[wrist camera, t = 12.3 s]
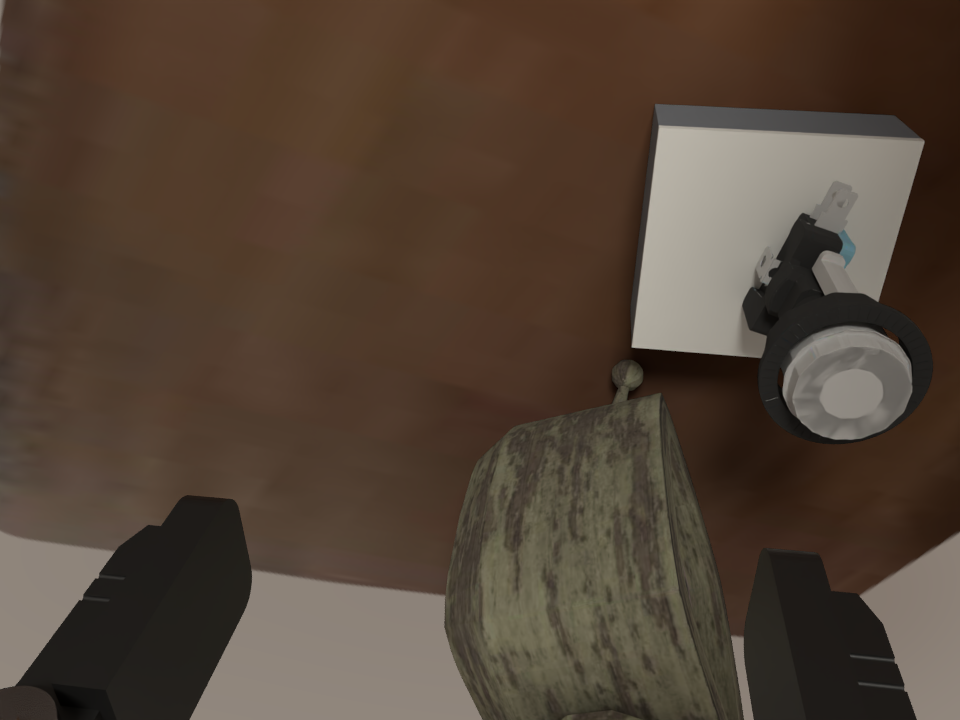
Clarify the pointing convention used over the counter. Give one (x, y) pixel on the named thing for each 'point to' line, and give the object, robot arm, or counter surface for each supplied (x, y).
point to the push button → (831, 337)
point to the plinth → (754, 212)
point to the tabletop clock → (590, 574)
